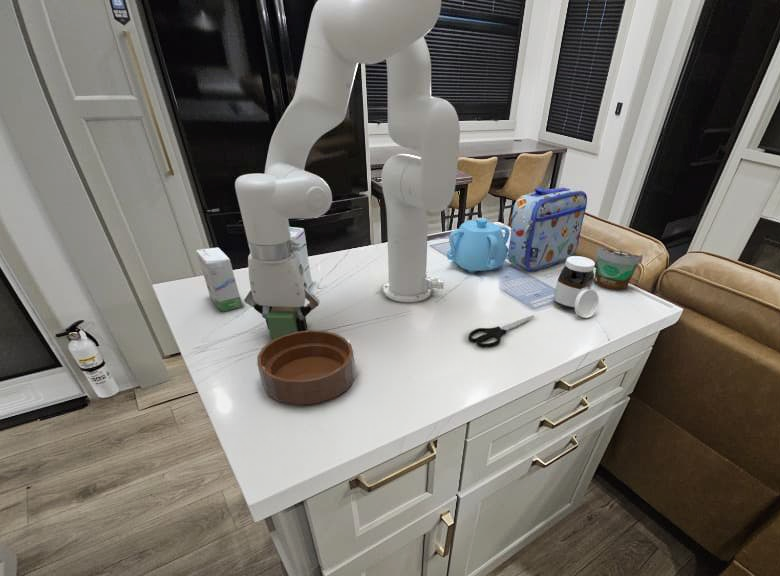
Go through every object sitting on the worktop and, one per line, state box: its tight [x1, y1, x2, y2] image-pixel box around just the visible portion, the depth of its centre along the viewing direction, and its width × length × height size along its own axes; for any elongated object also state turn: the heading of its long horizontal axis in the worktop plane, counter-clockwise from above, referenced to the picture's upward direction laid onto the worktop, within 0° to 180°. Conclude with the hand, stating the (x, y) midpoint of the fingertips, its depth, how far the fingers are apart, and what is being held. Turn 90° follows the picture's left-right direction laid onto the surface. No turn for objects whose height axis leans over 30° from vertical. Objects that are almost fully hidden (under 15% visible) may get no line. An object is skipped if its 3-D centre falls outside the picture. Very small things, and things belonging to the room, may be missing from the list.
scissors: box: [467, 315, 534, 349], centre depth 95 cm, size 7×1×20 cm
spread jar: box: [553, 255, 600, 319], centre depth 103 cm, size 12×11×12 cm
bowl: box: [256, 329, 356, 405], centre depth 76 cm, size 16×16×6 cm
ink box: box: [195, 247, 244, 313], centre depth 94 cm, size 8×5×12 cm, turn 39°
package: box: [266, 306, 298, 341], centre depth 87 cm, size 5×7×6 cm
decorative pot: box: [446, 217, 511, 274], centre depth 121 cm, size 16×16×14 cm
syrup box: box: [289, 226, 313, 288], centre depth 102 cm, size 6×6×14 cm
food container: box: [593, 245, 644, 291], centre depth 115 cm, size 12×6×10 cm, turn 68°
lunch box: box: [507, 187, 588, 272], centre depth 123 cm, size 28×10×22 cm, turn 133°
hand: (288, 331), depth 88 cm, fingers closed on package, 5 cm apart
